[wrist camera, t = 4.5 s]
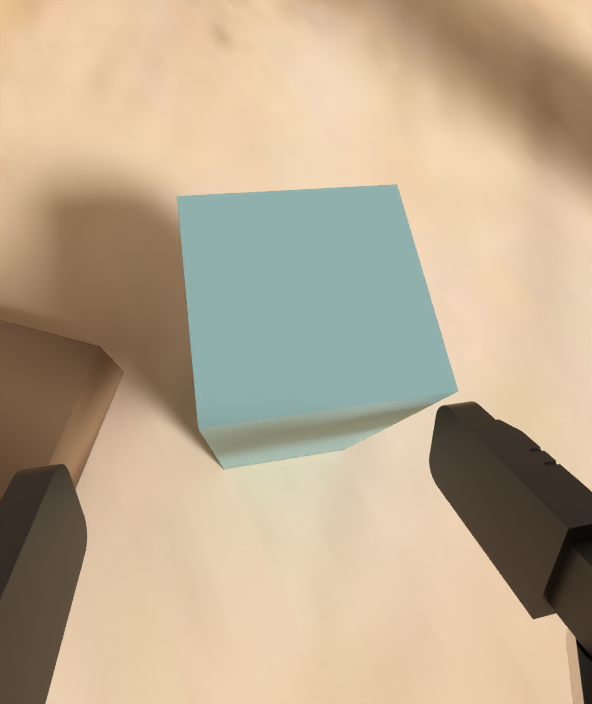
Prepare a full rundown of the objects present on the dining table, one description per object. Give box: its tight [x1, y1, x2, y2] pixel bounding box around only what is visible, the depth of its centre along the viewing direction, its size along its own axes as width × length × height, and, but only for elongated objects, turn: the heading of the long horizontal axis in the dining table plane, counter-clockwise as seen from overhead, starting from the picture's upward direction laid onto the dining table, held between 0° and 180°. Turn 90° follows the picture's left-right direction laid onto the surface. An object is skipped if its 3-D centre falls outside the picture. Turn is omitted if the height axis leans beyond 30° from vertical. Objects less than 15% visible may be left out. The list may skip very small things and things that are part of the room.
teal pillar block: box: [177, 185, 458, 469], centre depth 13 cm, size 5×5×10 cm
